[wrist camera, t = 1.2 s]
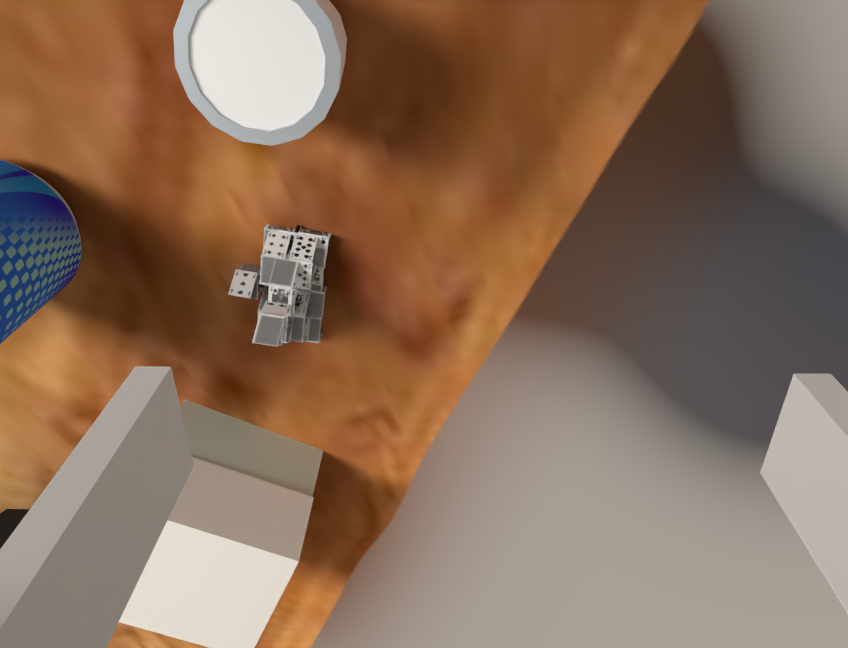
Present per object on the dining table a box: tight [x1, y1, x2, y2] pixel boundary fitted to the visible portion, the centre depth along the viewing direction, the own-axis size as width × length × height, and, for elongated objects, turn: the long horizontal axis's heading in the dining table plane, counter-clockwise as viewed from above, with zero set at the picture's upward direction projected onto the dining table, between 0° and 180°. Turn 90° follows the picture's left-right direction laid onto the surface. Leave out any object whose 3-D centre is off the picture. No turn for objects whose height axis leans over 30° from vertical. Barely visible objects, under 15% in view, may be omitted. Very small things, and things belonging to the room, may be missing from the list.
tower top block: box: [119, 457, 314, 648], centre depth 40 cm, size 10×10×5 cm
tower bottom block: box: [180, 399, 323, 497], centre depth 45 cm, size 10×10×5 cm
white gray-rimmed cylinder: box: [173, 0, 347, 146], centre depth 29 cm, size 7×7×7 cm
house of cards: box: [228, 224, 332, 347], centre depth 35 cm, size 9×9×8 cm
